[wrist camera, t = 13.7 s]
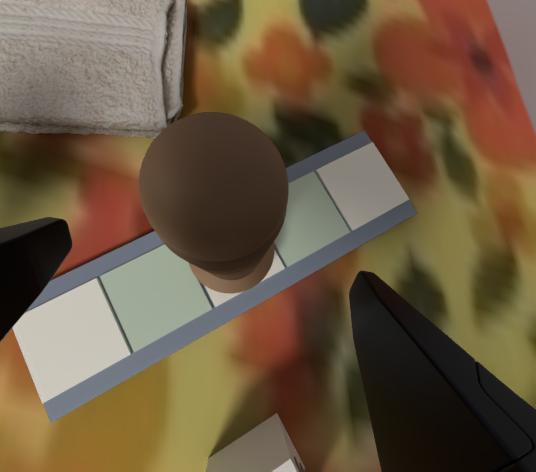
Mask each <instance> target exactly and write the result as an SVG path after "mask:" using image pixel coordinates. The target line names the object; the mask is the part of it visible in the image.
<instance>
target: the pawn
mask: <svg viewBox="0 0 536 472" xmlns="http://www.w3.org/2000/svg"><path fill="white" fill-rule="evenodd" d="M139 194H140V199H141V204H142V207H143V210H144V213H145V215H146V217H147V219H148V221H149V223H150V225H151V226H152V228H153V229H154V230H155V232H156V233H157V234H158V236H159V237H160V239H161V240H162V241H163V243H164V244H165V245H166V246H167V247H168V248H169V249H170V250H171V251H172V252H173V253H174V254H176V255H177V256H178V257H180V258H182V259H183V260H185V261H187V262H188V263H189V266H190V268H191V270H192V272H193V274H194V275H195V277H196V278H197V279H198V280H199V281H200V282H201V283H202V284H203V285H205V286H206V287H208V288H210V289H212V290H214V291H217V292H221V293H240V292H243V291H246V290H249V289H251V288H253V287H254V286H256V285H257V284H258V283H260V282H261V281H262V280H263V279H264V277H265V276H266V275H267V273H268V272H269V270H270V268H271V266H272V263H273V259H274V241H275V239H276V238H277V236H278V234H279V233H280V231H281V228H282V226H283V224H284V220H285V216H286V209H287V203H288V195H289V185H288V176H287V171H286V168H285V165H284V162H283V160H282V158H281V155H280V153H279V151H278V150H277V148H276V147H275V145H274V144H273V143H272V141H271V140H270V139H269V138H268V137H267V136H266V135H265V134H264V133H263V132H262V131H261V130H260V129H258V128H257V127H256V126H255V125H253V124H251V123H249V122H248V121H246V120H244V119H241V118H239V117H236V116H233V115H230V114H225V113H217V112H204V113H197V114H193V115H189V116H186V117H184V118H182V119H179V120H177V121H176V122H174V123H172V124H171V125H169V126H168V127H167V128H165V129H164V130H163V131H162V132H161V133H160V134H159V135H158V136H157V137H156V138H155V139H154V141H153V142H152V143H151V145H150V147H149V148H148V150H147V152H146V154H145V157H144V159H143V162H142V165H141V169H140V176H139Z"/></svg>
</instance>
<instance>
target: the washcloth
mask: <svg viewBox="0 0 536 472" xmlns="http://www.w3.org/2000/svg"><path fill="white" fill-rule="evenodd" d="M186 34H187V6H186V0H0V131H1V132H4V131H6V132H12V133H19V132H26V133H30V134H38V133H43V134H45V133H54V134H57V133H66V132H69V133H72V134H83V135H88V134H106V135H110V136H113V135H120V136H127V137H131V136H133V137H139V138H141V137H146V138H151V139H153V138H156V137H157V136H158V135H159V134H160V133H161V132H162V131H163V130H164V129H165V128H167V127H168V126H169V125H171V124H172V123H174V122H176V121H177V119H178V117H179V115H180V113H181V110H182V107H183V106H184V105H182V103H183V101H182V100H183V89H184V77H183V69H184V57H185V46H186V44H185V43H186Z"/></svg>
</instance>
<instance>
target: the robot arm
mask: <svg viewBox="0 0 536 472" xmlns="http://www.w3.org/2000/svg"><path fill="white" fill-rule="evenodd" d="M71 248H72V239H71V236H70V232H69V228H68V224H67V222H66V221H65V220H63V219H58V218H53V217H46V218H42V219H38V220H34V221H29V222H25V223H21V224H17V225H13V226H8V227H4V228H0V342H1V340H2V339H3V338H4V337H5V336H6V334H7V333H8V332H9V331H10V330H11V329H12V327H13V326H14V325H15V324H16V323H17V321H18V320H19V319H20V318H21V317H22V315H23V314H24V313H25V312H26V311H27V310H28V308H29V307H30V306H31V305H32V304H33V302H34V301H35V300H36V299H37V298H38V296H39V295H40V294H41V293H42V291H43V290H44V289H45V287H46V286H47V284H48V283H49V281H50V280H51V279H52V277H53V276H54V274H55V273H56V271H57V270H58V268H59V267H60V265H61V264H62V262H63V261H64V259H65V258H66V256H67V255H68V254H69V252H70V250H71ZM349 299H350V309H351V319H352V330H353V338H354V344H355V349H356V354H357V359H358V363H359V368H360V373H361V377H362V382H363V387H364V391H365V396H366V401H367V405H368V410H369V415H370V419H371V424H372V429H373V433H374V438H375V443H376V447H377V452H378V457H379V461H380V466H381V471H382V472H536V409H534V408H533V407H532V406H531V405H529V404H528V403H527V402H526V401H524V400H523V399H522V398H520V397H519V396H518V395H517V394H515V393H514V392H513V391H512V390H511V389H509V388H508V387H507V386H506V385H505V384H503V383H502V382H501V381H500V380H499V379H497V378H496V377H495V376H494V375H493V374H491V373H490V372H489V371H488V370H487V369H486V368H484V367H483V366H482V365H481V364H480V363H479V362H475V359H474V358H473V357H472V356H470V355H469V354H468V353H467V352H466V351H464V350H463V349H462V348H461V347H460V346H459V345H457V344H456V343H455V342H454V341H453V340H452V339H450V338H449V337H448V336H447V335H446V334H445V333H443V332H442V331H441V330H440V329H439V328H438V327H436V326H435V325H434V324H433V323H432V322H431V321H429V320H428V319H427V318H426V317H425V316H423V315H422V314H421V313H420V312H419V311H418V310H416V309H415V308H414V307H413V306H412V305H411V304H409V303H408V302H407V301H406V300H405V299H404V298H402V297H401V296H400V295H399V294H398V293H397V292H395V291H394V290H393V289H392V288H391V287H390V286H388V285H387V284H386V283H385V282H384V281H383V280H381V279H380V278H379V277H378V276H377V275H376V274H374V273H372V272H367V271H360V272H359V273H358V274H357V276H356V278H355V280H354V282H353V284H352V287H351V289H350V293H349Z"/></svg>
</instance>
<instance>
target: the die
mask: <svg viewBox="0 0 536 472" xmlns="http://www.w3.org/2000/svg"><path fill="white" fill-rule="evenodd" d="M206 472H307V471H306V469H305V467H304V465H303V463H302V461H301V459H300V457H299V455H298V453H297V451H296V449H295V447H294V445H293V443H292V441H291V439H290V437H289V435H288V433H287V431H286V429H285V427H284V425H283V423H282V422H281V420H280V418H279V416H278V414H277V413H276V414H274V415H273V416H271V417H270V418H268V419H267V420H265V421H264V422H262V423H261V424H259V425H258V426H256V427H255V428H253V429H252V430H250V431H249V432H247V433H246V434H244V435H243V436H241V437H240V438H238V439H237V440H235V441H234V442H232V443H231V444H229V445H228V446H226V447H225V448H223V449H222V450H220V451H219V452H217V453H216V454H214V455H213V456H211V457H210V458H208V463H207V468H206Z"/></svg>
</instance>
